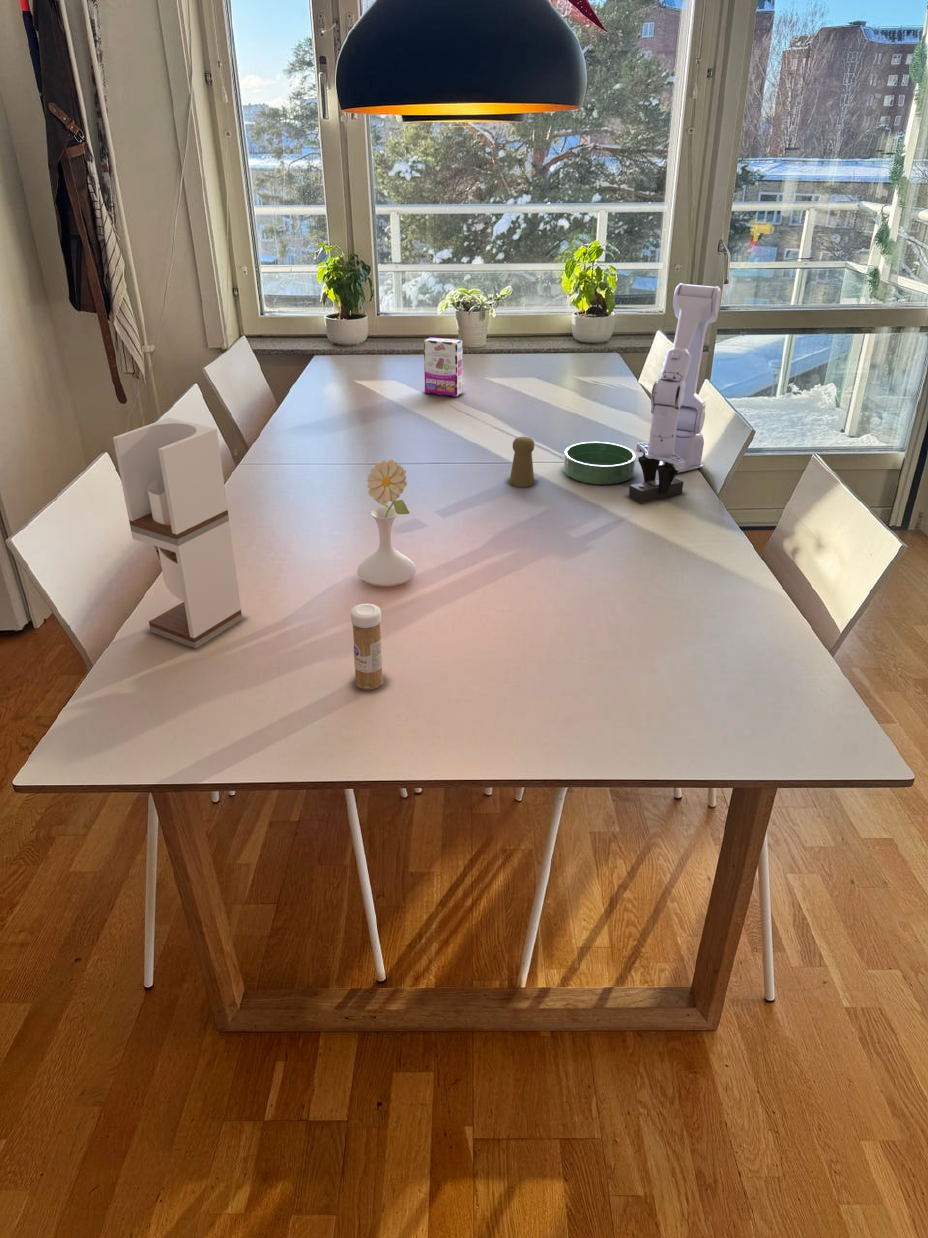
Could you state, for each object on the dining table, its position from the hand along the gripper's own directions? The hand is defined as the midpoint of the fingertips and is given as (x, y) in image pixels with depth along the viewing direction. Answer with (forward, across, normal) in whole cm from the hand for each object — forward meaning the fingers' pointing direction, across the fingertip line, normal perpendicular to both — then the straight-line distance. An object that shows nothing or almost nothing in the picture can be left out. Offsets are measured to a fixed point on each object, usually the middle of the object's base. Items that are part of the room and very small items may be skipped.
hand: (655, 489), depth 210 cm
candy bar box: (+2, -96, -4) cm, 96 cm away
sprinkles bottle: (+2, +38, -91) cm, 99 cm away
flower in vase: (+2, +8, -73) cm, 73 cm away
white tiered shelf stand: (+2, +7, -110) cm, 110 cm away
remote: (+1, 0, 0) cm, 1 cm away
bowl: (+1, -18, -3) cm, 18 cm away
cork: (+2, -22, -23) cm, 32 cm away
